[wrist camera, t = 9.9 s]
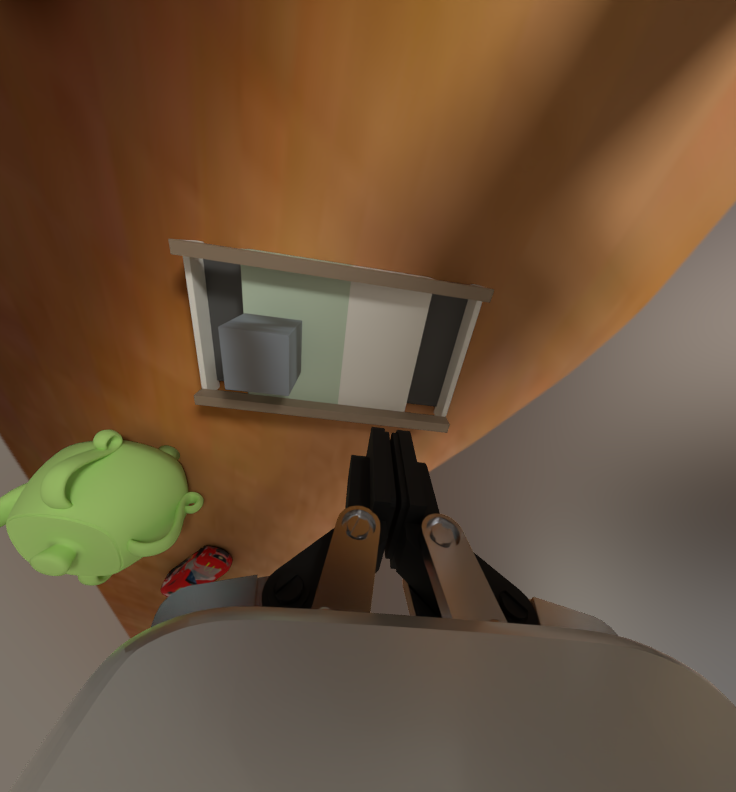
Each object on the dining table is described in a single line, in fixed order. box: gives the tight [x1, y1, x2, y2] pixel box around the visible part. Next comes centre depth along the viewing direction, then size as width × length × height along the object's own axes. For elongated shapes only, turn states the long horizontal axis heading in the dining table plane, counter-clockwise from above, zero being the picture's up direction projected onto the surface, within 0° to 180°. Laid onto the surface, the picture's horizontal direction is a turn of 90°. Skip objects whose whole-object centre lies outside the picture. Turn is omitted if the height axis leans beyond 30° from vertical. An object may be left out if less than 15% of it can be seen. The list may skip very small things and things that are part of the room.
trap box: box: [168, 239, 494, 433], centre depth 26 cm, size 25×14×4 cm, turn 82°
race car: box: [161, 546, 232, 597], centre depth 43 cm, size 13×5×4 cm, turn 129°
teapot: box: [0, 430, 204, 585], centre depth 30 cm, size 16×14×13 cm
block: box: [218, 313, 302, 396], centre depth 23 cm, size 5×5×5 cm
